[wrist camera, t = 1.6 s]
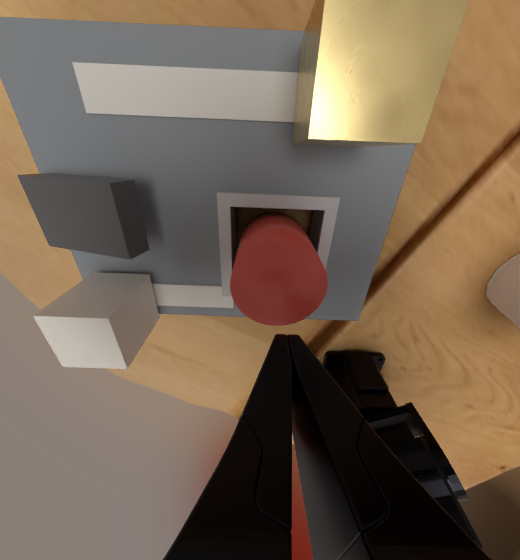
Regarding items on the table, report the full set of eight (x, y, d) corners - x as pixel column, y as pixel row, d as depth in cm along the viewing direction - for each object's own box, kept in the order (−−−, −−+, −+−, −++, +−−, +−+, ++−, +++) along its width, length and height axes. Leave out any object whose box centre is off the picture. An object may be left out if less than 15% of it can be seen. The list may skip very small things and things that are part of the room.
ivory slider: (159, 317, 18) (127, 368, 14) (110, 315, 18) (62, 366, 14) (149, 274, 16) (108, 318, 12) (94, 272, 16) (32, 315, 12)
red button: (303, 278, 18) (318, 326, 13) (239, 275, 18) (231, 323, 13) (312, 214, 15) (336, 243, 10) (239, 211, 15) (228, 239, 10)
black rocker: (149, 249, 14) (130, 259, 13) (74, 237, 15) (49, 245, 14) (134, 179, 12) (109, 183, 11) (49, 173, 13) (17, 175, 12)
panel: (346, 300, 21) (359, 323, 19) (116, 291, 21) (93, 313, 18) (412, 61, 13) (455, 35, 10) (33, 43, 13) (-33, 11, 10)
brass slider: (364, 146, 12) (420, 143, 8) (291, 143, 12) (308, 138, 8) (388, 45, 10) (480, -34, 6) (301, 41, 10) (329, -41, 6)
